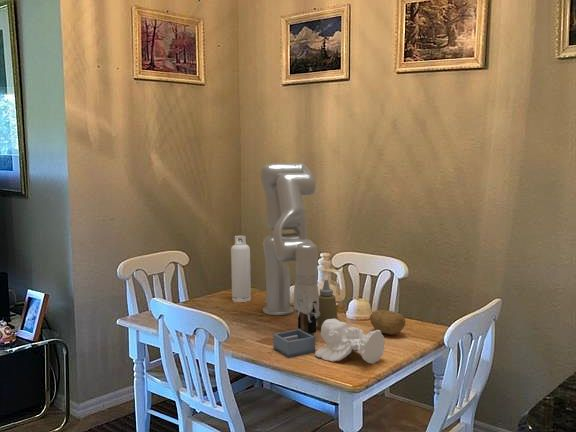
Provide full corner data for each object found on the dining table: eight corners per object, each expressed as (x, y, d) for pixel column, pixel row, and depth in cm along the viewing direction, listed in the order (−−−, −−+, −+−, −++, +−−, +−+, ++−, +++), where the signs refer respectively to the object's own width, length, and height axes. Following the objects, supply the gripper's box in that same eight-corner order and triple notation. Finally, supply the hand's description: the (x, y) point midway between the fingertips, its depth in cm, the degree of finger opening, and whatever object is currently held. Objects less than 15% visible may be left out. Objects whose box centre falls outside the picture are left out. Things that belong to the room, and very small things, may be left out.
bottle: (230, 302, 258) (228, 237, 255) (234, 297, 266) (233, 234, 263) (248, 302, 257) (247, 237, 254) (252, 298, 265) (251, 235, 262)
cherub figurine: (362, 338, 177) (310, 318, 190) (359, 377, 179) (308, 355, 192) (387, 326, 186) (335, 308, 199) (383, 364, 189) (333, 344, 202)
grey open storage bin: (273, 348, 199) (273, 334, 199) (299, 343, 204) (299, 329, 204) (288, 357, 191) (288, 342, 190) (315, 352, 196) (315, 337, 195)
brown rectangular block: (300, 338, 209) (300, 310, 208) (310, 336, 211) (310, 308, 210) (303, 340, 208) (303, 312, 206) (313, 338, 210) (313, 310, 208)
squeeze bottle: (336, 332, 216) (336, 283, 214) (313, 331, 217) (313, 282, 215) (338, 325, 224) (338, 278, 222) (317, 324, 225) (316, 277, 223)
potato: (381, 326, 223) (381, 304, 222) (411, 335, 212) (411, 313, 211) (362, 331, 217) (362, 309, 216) (392, 341, 206) (392, 318, 205)
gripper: (284, 276, 212) (285, 326, 215) (310, 285, 198) (311, 339, 200) (303, 273, 216) (303, 322, 218) (329, 282, 201) (330, 335, 204)
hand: (307, 330), depth 209 cm, fingers open, 5 cm apart
